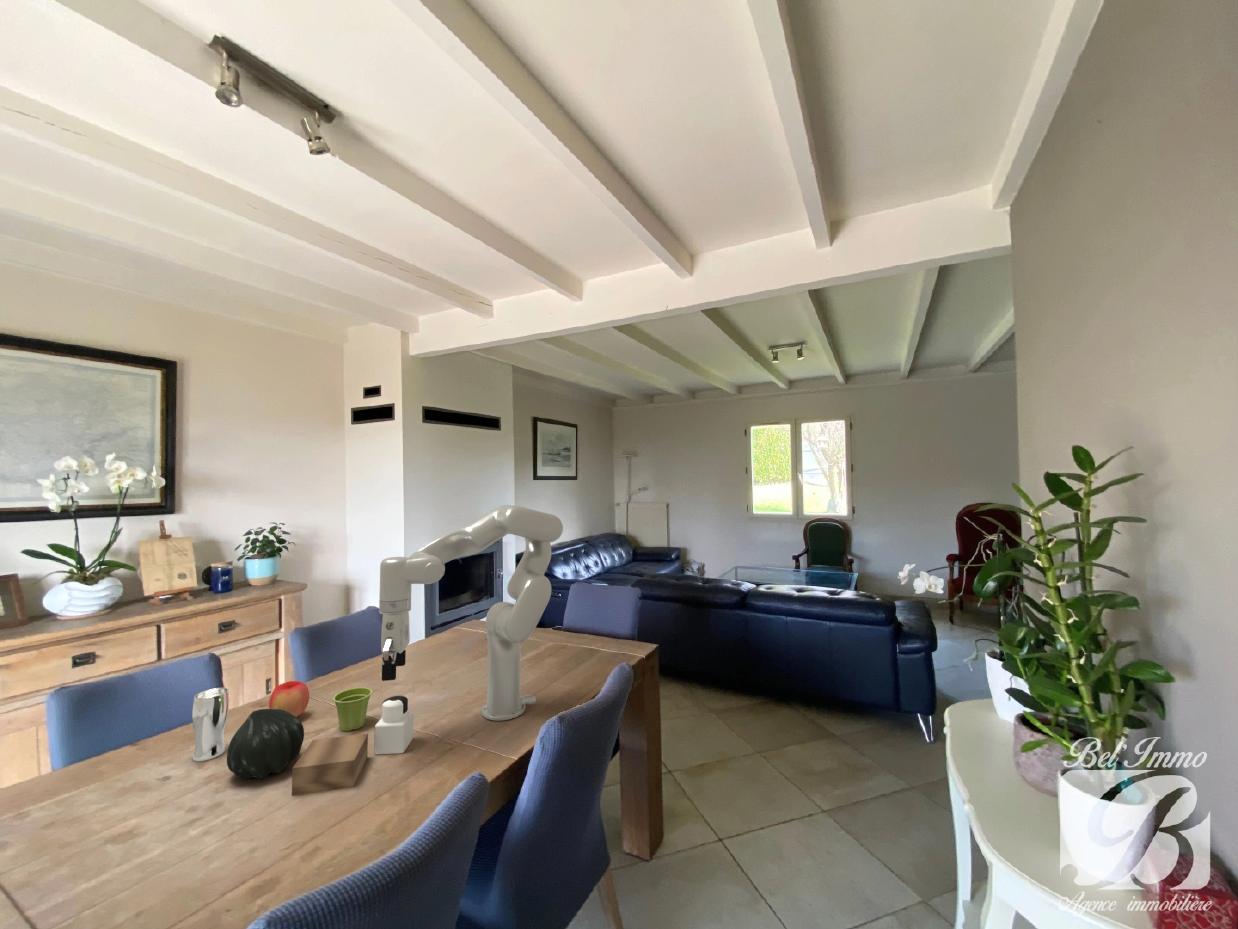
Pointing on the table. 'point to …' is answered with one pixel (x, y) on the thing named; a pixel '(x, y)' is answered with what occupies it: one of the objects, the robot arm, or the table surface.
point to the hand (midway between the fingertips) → (393, 672)
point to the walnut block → (330, 764)
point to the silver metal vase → (210, 723)
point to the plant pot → (352, 707)
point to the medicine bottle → (394, 727)
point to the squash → (265, 743)
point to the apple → (290, 697)
